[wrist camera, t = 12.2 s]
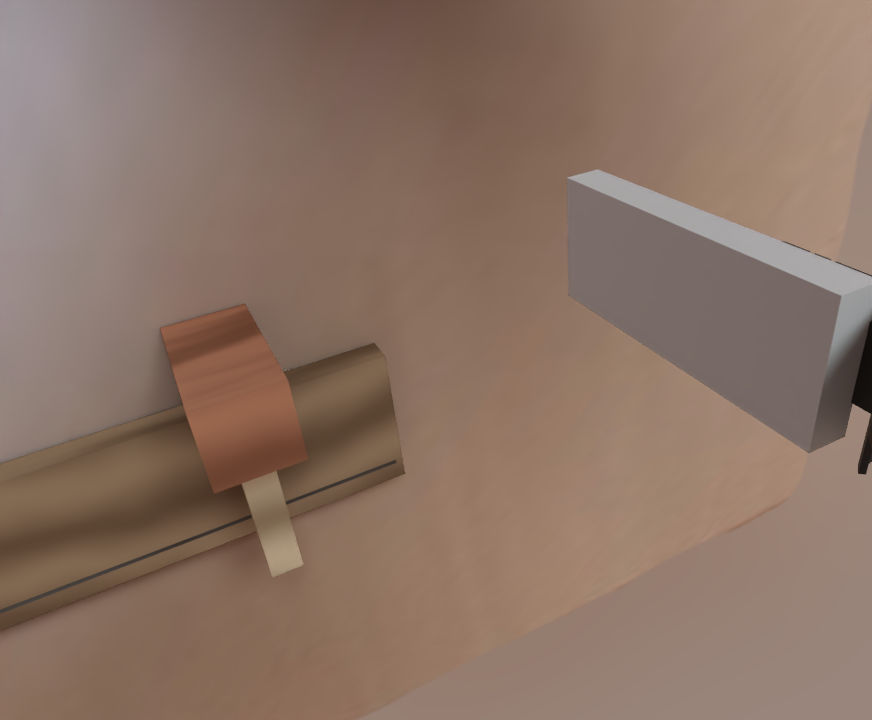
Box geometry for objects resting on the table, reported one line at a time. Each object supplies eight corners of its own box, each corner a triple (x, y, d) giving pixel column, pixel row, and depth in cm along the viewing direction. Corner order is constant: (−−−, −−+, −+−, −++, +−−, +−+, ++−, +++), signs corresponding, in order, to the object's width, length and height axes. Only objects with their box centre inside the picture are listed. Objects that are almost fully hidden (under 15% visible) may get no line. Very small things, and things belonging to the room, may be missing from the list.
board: (-138, 508, 40) (-146, 531, 38) (374, 343, 49) (385, 356, 47) (-53, 627, 45) (-57, 653, 43) (394, 458, 54) (405, 474, 53)
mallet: (160, 328, 42) (186, 414, 34) (244, 303, 44) (288, 380, 36) (226, 517, 50) (260, 623, 42) (296, 491, 52) (341, 588, 44)
